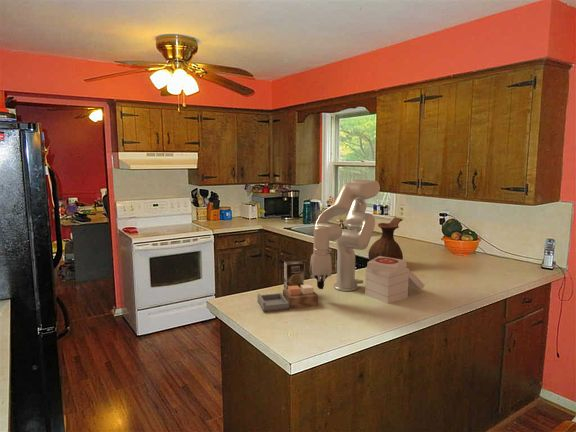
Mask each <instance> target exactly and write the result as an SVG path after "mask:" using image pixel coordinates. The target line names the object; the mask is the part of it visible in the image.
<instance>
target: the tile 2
mask: <svg viewBox="0 0 576 432" xmlns="http://www.w3.org/2000/svg"><path fill="white" fill-rule="evenodd" d="M300 289H301V292H302V293H303V294H309V293H314V292H315V291H314V286H313V285H311V284H307V283H306V284H304V285H300Z"/></svg>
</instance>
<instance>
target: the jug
mask: <svg viewBox="0 0 576 432" xmlns="http://www.w3.org/2000/svg"><path fill="white" fill-rule="evenodd" d="M402 221H403V218H401V217H397V216H396V217H393V219H392V220H391V221H389V222H388V223H387V222H379V223H377V226H378V227H379V228H380V229H381V232H382V233H381V236H380V238H379V239H377V240H376V241H375V242H373V243H372V245H371V246H370V248H369V250H368V260H369V261H371V260H373V259H374V258H376V257H378V256H382V257H389V258H395V259H402V260H404V256H403V251H402V248H401V246H400V245H399V244H398V242H397V241H396V240H395V238H394V234H395V230H397V229H398V228H399V227H400V226H399V224H400V222H402Z"/></svg>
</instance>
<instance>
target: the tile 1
mask: <svg viewBox="0 0 576 432" xmlns="http://www.w3.org/2000/svg"><path fill="white" fill-rule="evenodd" d="M288 293H289V294H290V295H299V294H301V289H300V287H299V286H298V285H296V286H288Z"/></svg>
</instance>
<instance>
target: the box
mask: <svg viewBox="0 0 576 432" xmlns="http://www.w3.org/2000/svg"><path fill="white" fill-rule="evenodd" d="M257 303H258V304H259V306H260V308H261V310H262V311H263V313H266V312H268V311H269V312H278V311H277V310H279V311H286V309H288V310H289V309H290V308H289V302H288V301H287V300H286V299H285V297H284V296H283V292H282V293H281V292H278V293H268V294H267V293H266V294H260V293H257Z"/></svg>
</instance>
